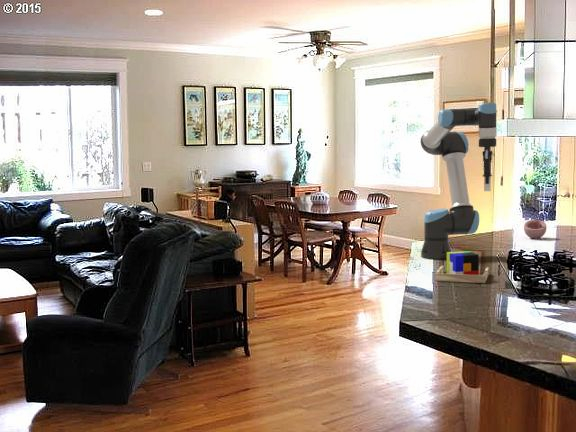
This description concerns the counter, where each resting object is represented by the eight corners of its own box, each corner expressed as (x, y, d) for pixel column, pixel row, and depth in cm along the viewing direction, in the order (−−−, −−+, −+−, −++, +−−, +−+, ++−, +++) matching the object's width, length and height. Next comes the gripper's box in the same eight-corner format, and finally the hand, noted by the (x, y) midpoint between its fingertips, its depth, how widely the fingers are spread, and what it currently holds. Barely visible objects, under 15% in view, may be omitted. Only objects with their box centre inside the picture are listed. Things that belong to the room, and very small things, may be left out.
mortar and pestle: (524, 240, 372) (524, 219, 371) (523, 236, 383) (523, 217, 382) (547, 240, 368) (547, 219, 367) (545, 237, 380) (545, 217, 378)
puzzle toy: (455, 279, 274) (455, 256, 272) (446, 275, 283) (446, 252, 282) (478, 278, 275) (478, 254, 274) (468, 273, 285) (468, 251, 284)
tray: (441, 272, 289) (441, 265, 289) (488, 274, 282) (488, 267, 282) (434, 280, 273) (434, 273, 272) (485, 283, 265) (485, 275, 265)
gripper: (480, 138, 300) (480, 190, 302) (477, 138, 287) (477, 192, 290) (497, 137, 297) (497, 189, 299) (495, 137, 285) (495, 192, 287)
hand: (487, 191), depth 295 cm, fingers closed
